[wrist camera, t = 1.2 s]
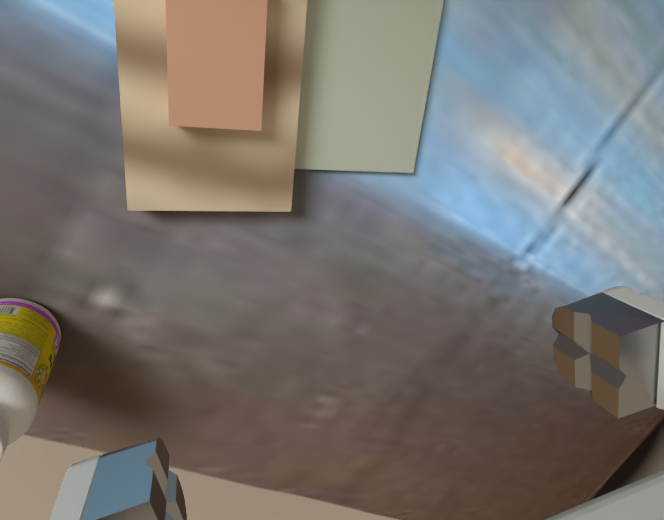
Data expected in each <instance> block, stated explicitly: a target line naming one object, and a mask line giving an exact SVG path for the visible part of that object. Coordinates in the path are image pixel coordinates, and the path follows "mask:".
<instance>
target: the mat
mask: <svg viewBox="0 0 664 520" xmlns="http://www.w3.org/2000/svg"><path fill="white" fill-rule="evenodd" d="M443 2H444V0H307V11H306V24H305V37H304V50H303V63H302V76H301V89H300V102H299V115H298V128H297V141H296V154H295V168H294V169H313V170H341V171H370V172H398V173H413V172H414V166H415V161H416V155H417V149H418V144H419V138H420V132H421V127H422V121H423V115H424V110H425V104H426V98H427V93H428V87H429V81H430V76H431V70H432V64H433V59H434V53H435V48H436V42H437V36H438V31H439V25H440V19H441V14H442V8H443Z"/></svg>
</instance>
